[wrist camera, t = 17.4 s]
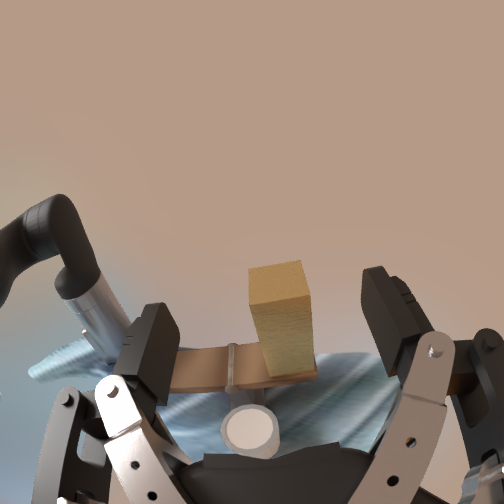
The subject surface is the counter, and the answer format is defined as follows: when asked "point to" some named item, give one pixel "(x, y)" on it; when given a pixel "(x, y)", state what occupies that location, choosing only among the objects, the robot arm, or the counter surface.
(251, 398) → the beam stand
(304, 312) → the block
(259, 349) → the beam
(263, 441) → the beige short cylinder
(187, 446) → the counter surface
